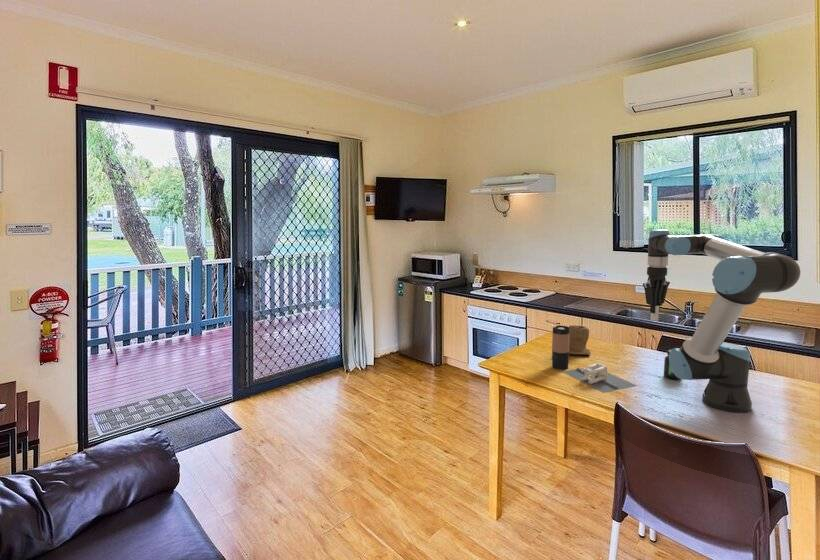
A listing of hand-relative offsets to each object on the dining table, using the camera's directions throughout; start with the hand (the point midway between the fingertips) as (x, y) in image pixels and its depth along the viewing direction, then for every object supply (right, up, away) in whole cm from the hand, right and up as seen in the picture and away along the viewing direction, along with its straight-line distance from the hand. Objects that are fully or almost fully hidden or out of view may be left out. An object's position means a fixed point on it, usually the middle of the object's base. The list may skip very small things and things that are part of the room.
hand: (654, 320), depth 186 cm
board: (-23, -27, +5) cm, 35 cm away
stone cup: (-19, -21, +40) cm, 49 cm away
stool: (-22, -22, +2) cm, 31 cm away
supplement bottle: (+10, -26, +4) cm, 28 cm away
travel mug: (-34, -25, +20) cm, 47 cm away
